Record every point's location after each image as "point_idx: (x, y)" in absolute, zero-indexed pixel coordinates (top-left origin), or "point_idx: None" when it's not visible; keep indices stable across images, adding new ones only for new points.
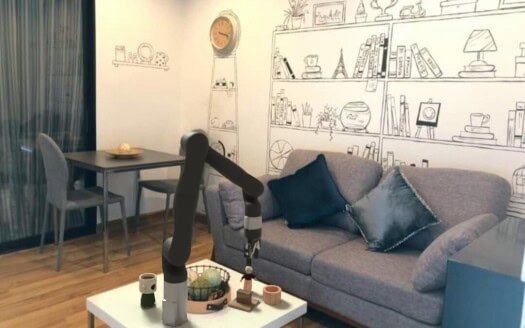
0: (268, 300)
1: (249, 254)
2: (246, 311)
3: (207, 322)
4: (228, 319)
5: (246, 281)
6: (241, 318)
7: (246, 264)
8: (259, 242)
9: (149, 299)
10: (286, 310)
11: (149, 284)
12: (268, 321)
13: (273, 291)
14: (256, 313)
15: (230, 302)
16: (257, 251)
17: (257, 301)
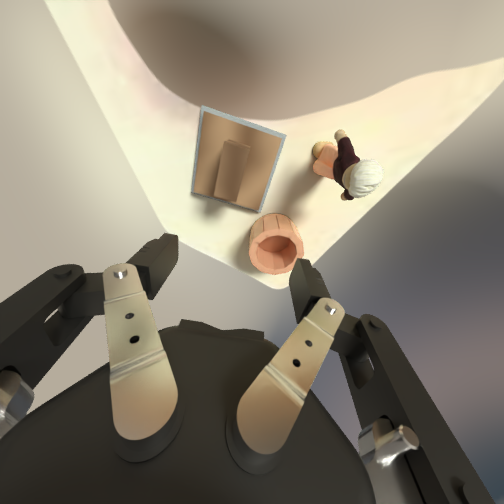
0: (250, 236)
1: (48, 336)
2: (194, 183)
3: (80, 56)
4: (138, 135)
5: (332, 161)
6: (161, 174)
7: (162, 236)
8: (355, 395)
9: None
10: (238, 267)
11: None
12: None
13: (293, 246)
14: (202, 208)
15: (219, 117)
16: (298, 316)
17: (249, 206)
